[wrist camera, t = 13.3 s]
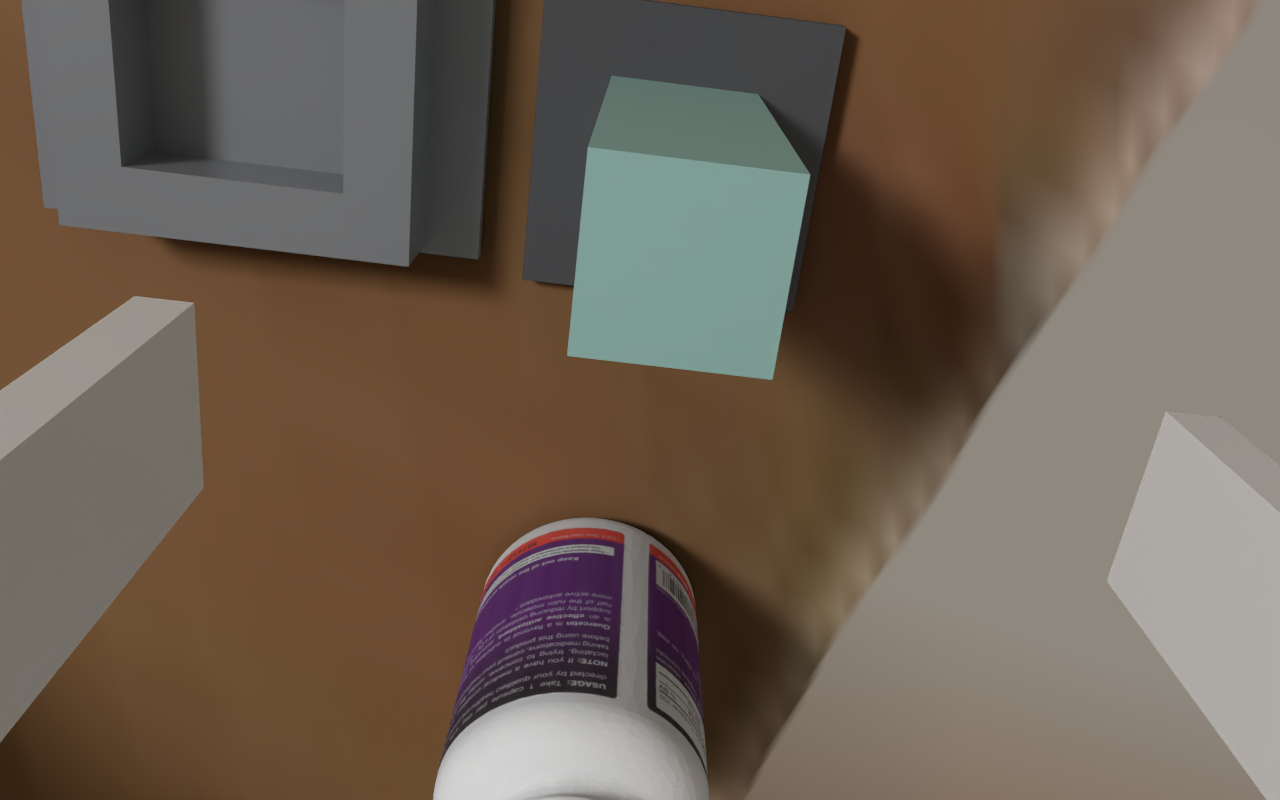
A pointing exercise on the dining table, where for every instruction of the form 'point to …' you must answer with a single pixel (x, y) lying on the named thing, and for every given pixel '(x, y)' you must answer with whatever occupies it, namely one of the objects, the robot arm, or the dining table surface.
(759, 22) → the mat
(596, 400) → the dining table surface
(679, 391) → the dining table surface
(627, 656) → the pill bottle
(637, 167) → the plug
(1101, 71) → the dining table surface
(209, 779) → the dining table surface
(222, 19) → the grey socket tray
